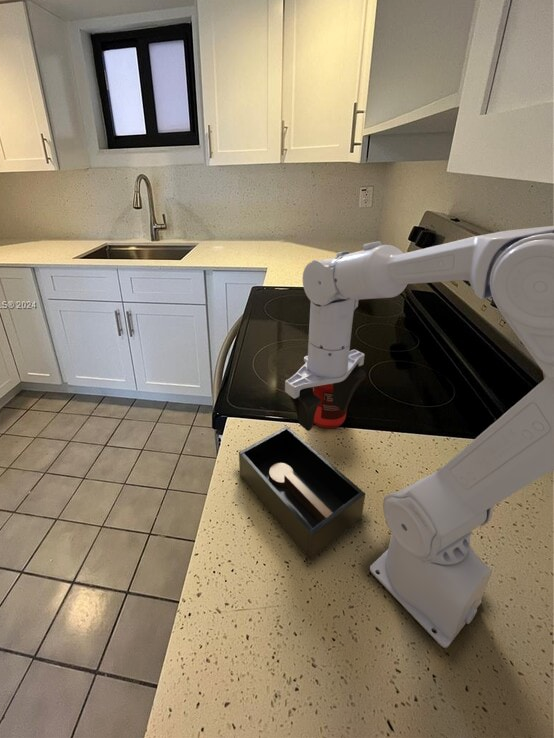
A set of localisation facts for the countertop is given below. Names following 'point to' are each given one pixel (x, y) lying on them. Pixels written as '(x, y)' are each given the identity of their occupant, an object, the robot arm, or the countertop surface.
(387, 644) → the countertop surface
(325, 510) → the tan long slender bar
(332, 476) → the tin
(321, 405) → the canned food
